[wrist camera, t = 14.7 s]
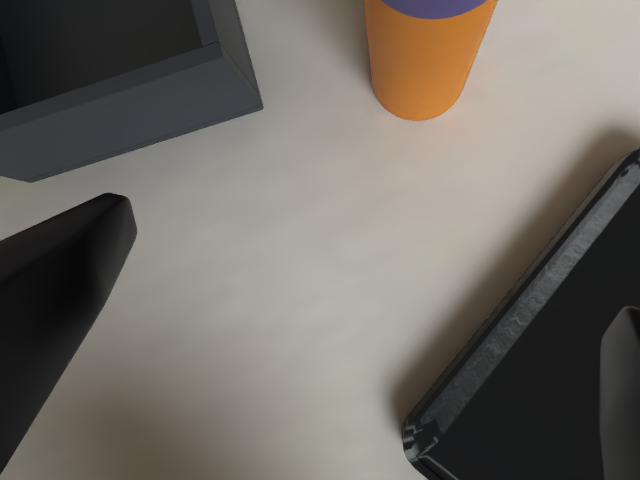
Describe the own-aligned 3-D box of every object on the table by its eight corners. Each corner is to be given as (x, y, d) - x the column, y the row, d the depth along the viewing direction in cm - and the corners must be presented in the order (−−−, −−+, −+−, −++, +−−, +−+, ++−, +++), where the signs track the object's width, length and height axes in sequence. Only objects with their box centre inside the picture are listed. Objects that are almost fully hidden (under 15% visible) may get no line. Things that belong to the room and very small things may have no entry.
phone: (389, 446, 20) (646, 132, 19) (389, 437, 21) (633, 139, 20) (564, 595, 19) (842, 268, 18) (554, 577, 20) (817, 268, 19)
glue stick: (446, 134, 22) (509, -15, 10) (357, 104, 22) (321, -69, 11) (480, 45, 22) (579, -204, 10) (389, 17, 22) (388, -248, 11)
